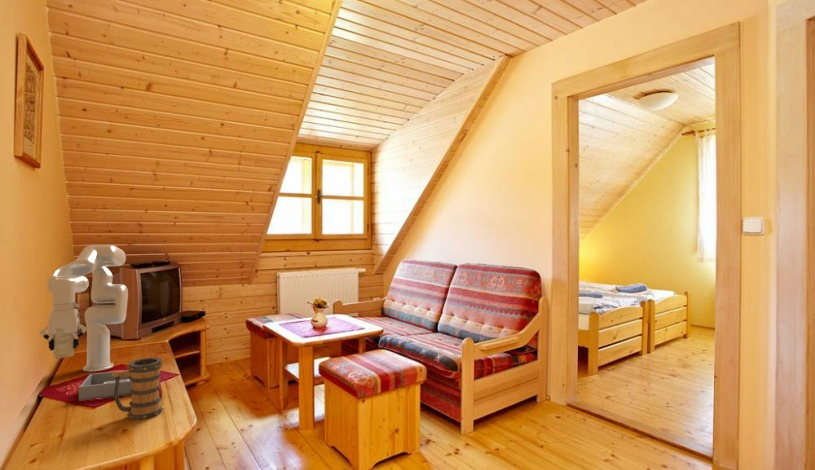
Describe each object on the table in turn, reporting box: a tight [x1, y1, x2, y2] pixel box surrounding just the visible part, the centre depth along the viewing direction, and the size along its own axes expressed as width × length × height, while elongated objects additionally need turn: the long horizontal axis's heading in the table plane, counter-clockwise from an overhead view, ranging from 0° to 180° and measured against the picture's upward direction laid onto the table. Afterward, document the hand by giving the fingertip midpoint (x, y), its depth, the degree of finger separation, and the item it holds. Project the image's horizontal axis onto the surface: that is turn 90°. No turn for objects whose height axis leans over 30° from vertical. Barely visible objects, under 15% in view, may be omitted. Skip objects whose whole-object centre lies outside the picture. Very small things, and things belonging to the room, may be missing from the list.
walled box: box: [78, 369, 132, 402], centre depth 189 cm, size 18×22×6 cm
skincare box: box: [53, 329, 75, 360], centre depth 184 cm, size 6×4×12 cm
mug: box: [112, 357, 165, 421], centre depth 164 cm, size 13×17×20 cm
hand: (63, 348), depth 184 cm, fingers closed on skincare box, 7 cm apart
